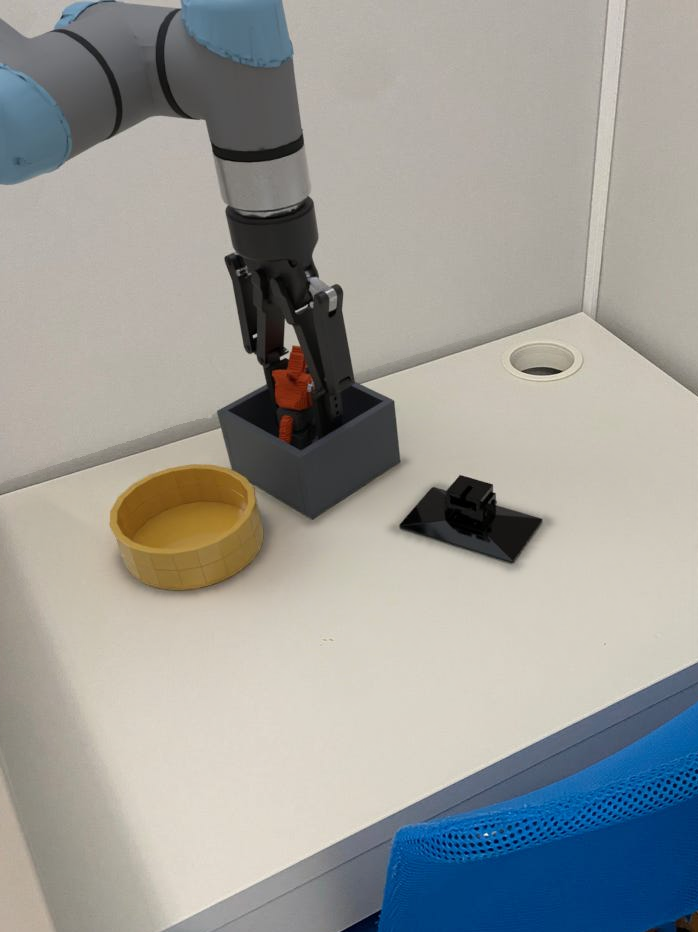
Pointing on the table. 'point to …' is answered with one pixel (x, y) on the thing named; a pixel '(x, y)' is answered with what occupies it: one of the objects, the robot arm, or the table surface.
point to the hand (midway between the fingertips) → (310, 431)
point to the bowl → (187, 526)
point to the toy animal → (295, 402)
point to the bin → (312, 449)
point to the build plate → (472, 520)
